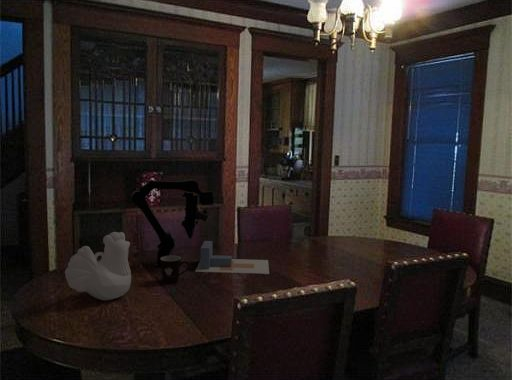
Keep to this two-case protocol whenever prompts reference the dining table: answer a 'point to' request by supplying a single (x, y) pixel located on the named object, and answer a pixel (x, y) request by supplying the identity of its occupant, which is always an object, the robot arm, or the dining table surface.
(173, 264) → the coffee mug
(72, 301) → the dining table surface
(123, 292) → the decorative rooster
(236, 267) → the t mat
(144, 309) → the dining table surface
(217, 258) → the t block
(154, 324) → the dining table surface
